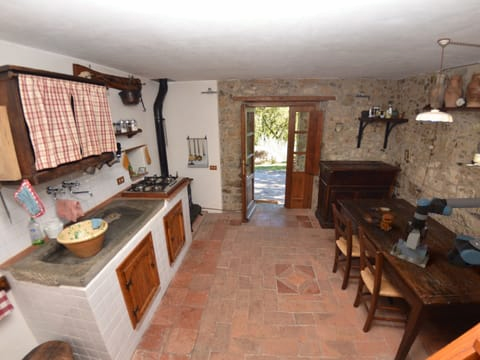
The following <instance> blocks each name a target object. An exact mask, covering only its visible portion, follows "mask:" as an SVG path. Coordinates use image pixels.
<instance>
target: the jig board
mask: <svg viewBox="0 0 480 360" xmlns="http://www.w3.org/2000/svg"><path fill="white" fill-rule="evenodd" d="M397 246H398V242H396V243H394V245H393V246H392V248H391V251H390V252H389V254H390V255H392V256H393V257H394V256H395V257H396V258H398V259H399V258H400V259H402V260H405V261H407V262H410V263H411V264H413V265H416V266H419V267H421V268H422V269H423V268H424V269H425V268H426V265H427V264H428V261H429V259H430V254H427V253H426V255H425V257H424V261H423V262H421V259H422V257H419V256H418V257H417V260H416V259H413V258H410V257H407V256H404V255H401V254H399V253H400V250H401V249H399V248H397Z"/></svg>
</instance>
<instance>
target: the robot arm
mask: <svg viewBox="0 0 480 360" xmlns="http://www.w3.org/2000/svg"><path fill="white" fill-rule="evenodd" d="M453 209H480V197H460V198H458V197H457V198H456V197H455V198H439V197H433V198H431V199H428V198H420V199H418V201H417V204H416V208H415V212H414V215H413V219H412V221H407V225H406V228H405V230H404V233H405V234H406V237H405V238H407V240H408V236H409V234H410V233H411V232H412V230H413V229H414V230H418V231H419V232H420V238H419V240H418V244H417V246H420V243H422V242H423V240H426V239H427V235H428V231H429V230H430V227H428V226H426V221H427V218H428V215H429V214H433V215H434V214H435V215H439V216H444V217H451V215H452V213H453ZM410 225H412V227H411V226H410ZM410 227H411V228H410ZM409 228H410V230H409ZM423 229H424V234H423ZM407 240H406V241H407ZM445 259H446V260H447V261H448V262H450V263H451V264H453V265H455V266H457V267H460V268H464V269H470V268H473V265H480V234H479V235H478V236H477V237H473V236H471V235H468V234H464V233H463V234H461V233H460V234H457V235H456V237H455V239H454V243H453V245H452V248H451V250H450V251H449V252H448V253H447V254H446V256H445Z"/></svg>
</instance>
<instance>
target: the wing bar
mask: <svg viewBox="0 0 480 360" xmlns="http://www.w3.org/2000/svg"><path fill="white" fill-rule="evenodd" d="M419 238H420V232H419V230H418V229H415V228H414V229H413V230H412V232H411V233H410V234H409V236H408V238H407V239H408V240H406V242H407V243H406V246H407V247H409V248H412V249H416V247H417V244H418V240H419Z"/></svg>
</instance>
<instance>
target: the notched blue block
mask: <svg viewBox="0 0 480 360" xmlns="http://www.w3.org/2000/svg"><path fill="white" fill-rule="evenodd" d="M397 243H398V245H397V248H399V249H401V250H400V253H399V254H401V255H404V256H407V257H410V258H413V259H416V260H417V257H418V256H419V257H422V259H421V262H423V261H424V257H425V256H426V255H427V250H428V249H427V248H428V245H427V244H423V245H422V246H421V245H418V246H417V247H416V249H412V248H409V247H407V246H406V243H407V241H405V240H403V239H402V238H399V239H398V242H397Z"/></svg>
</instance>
